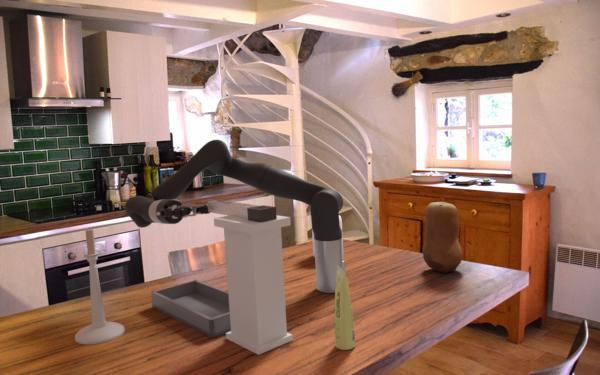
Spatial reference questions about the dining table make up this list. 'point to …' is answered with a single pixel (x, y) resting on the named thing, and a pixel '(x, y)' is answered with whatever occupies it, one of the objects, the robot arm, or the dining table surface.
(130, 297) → the dining table surface
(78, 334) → the candlestick
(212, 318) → the bin
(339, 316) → the tube
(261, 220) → the plug rod
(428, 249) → the butternut squash
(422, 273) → the dining table surface
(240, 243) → the stand
